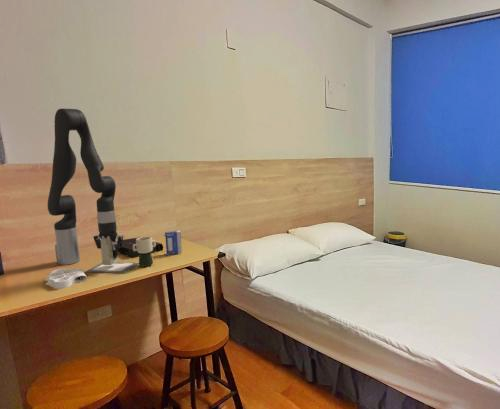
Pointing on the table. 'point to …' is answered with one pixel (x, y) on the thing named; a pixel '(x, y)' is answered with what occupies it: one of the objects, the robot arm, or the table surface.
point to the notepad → (113, 268)
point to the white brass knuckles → (65, 277)
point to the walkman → (173, 242)
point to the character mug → (144, 250)
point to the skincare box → (107, 252)
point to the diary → (128, 248)
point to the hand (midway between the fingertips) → (110, 257)
